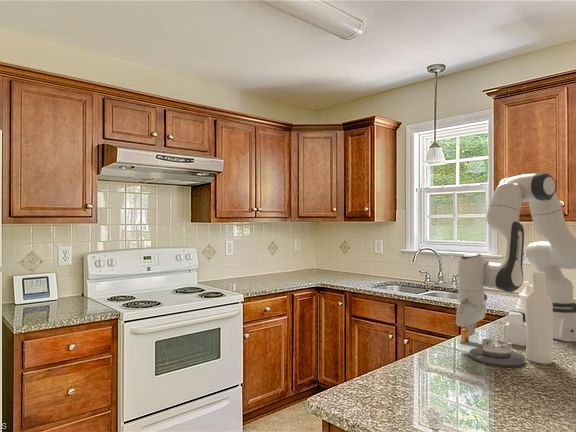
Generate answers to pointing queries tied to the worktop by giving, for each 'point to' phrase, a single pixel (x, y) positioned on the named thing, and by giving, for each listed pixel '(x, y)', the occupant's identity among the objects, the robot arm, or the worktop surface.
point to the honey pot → (524, 298)
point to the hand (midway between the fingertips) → (470, 334)
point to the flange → (497, 359)
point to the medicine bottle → (515, 328)
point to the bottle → (539, 323)
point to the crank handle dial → (488, 345)
